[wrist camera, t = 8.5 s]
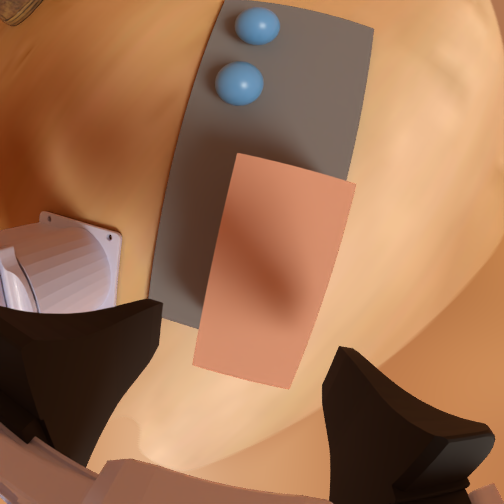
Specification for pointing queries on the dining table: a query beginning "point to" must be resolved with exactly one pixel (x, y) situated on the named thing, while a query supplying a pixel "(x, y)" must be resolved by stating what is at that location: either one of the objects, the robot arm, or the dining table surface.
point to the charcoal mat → (255, 134)
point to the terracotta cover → (270, 269)
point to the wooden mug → (16, 10)
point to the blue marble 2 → (239, 83)
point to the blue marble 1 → (257, 25)
